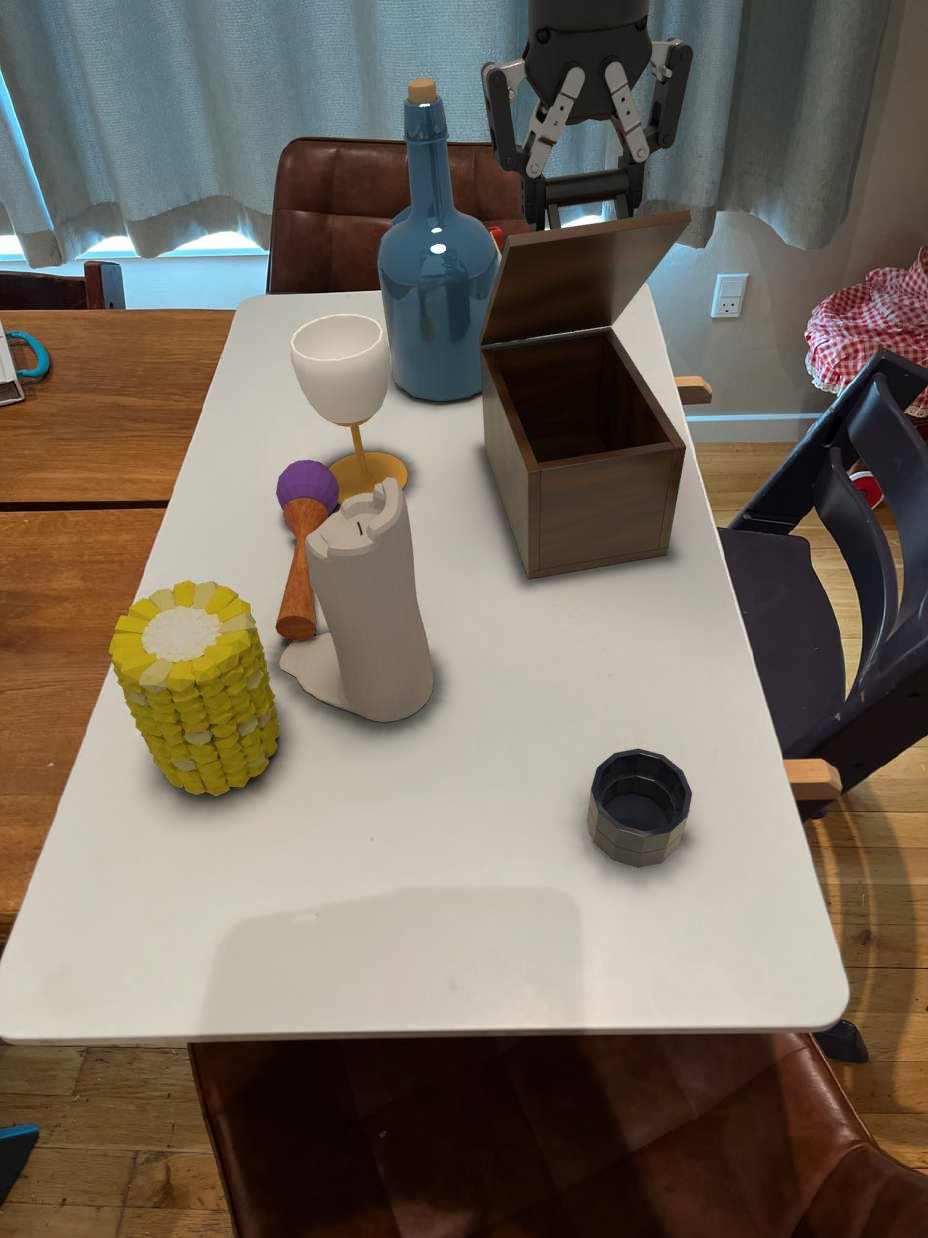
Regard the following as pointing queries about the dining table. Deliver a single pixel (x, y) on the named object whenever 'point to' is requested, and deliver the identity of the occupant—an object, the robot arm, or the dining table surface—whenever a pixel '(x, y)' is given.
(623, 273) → the lid
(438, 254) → the wine bottle
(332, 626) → the candle
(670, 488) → the chest
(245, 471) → the dining table surface
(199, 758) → the food
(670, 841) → the bowl
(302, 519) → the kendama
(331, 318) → the cup
